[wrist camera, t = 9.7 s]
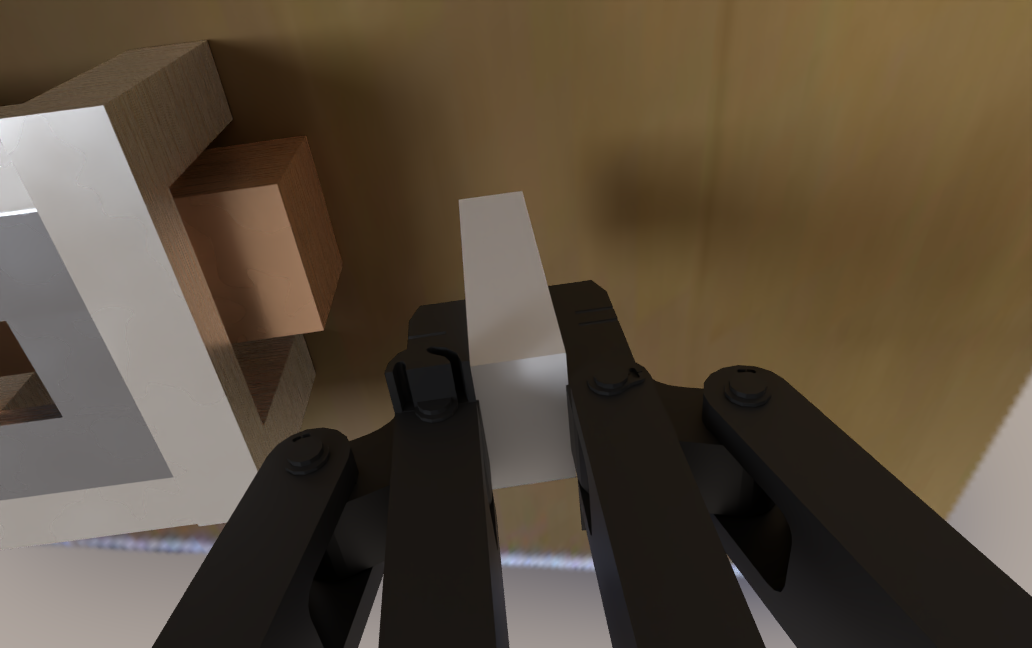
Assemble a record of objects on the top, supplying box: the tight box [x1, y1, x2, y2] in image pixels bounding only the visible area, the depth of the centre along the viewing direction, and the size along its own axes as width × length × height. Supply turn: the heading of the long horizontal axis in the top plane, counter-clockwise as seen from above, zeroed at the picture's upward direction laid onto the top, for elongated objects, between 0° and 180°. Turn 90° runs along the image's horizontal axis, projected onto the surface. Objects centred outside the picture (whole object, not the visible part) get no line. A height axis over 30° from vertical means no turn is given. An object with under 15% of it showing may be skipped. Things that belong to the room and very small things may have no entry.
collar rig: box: [0, 40, 316, 550], centre depth 18 cm, size 10×10×6 cm
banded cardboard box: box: [0, 135, 343, 377], centre depth 19 cm, size 12×4×4 cm, turn 97°
